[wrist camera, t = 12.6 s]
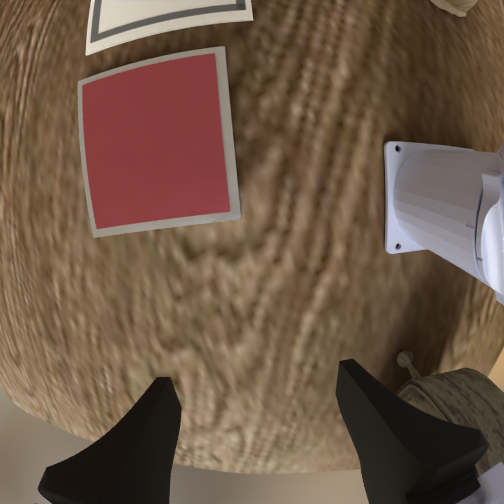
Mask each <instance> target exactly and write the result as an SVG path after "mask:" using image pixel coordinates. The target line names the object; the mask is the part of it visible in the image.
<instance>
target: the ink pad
mask: <svg viewBox="0 0 504 504" xmlns="http://www.w3.org/2000/svg"><path fill="white" fill-rule="evenodd" d="M78 121H79V138H80V151H81V161H82V170H83V178H84V185H85V192H86V199H87V205H88V211H89V216H90V222H91V227H92V232H93V237H94V238H96V237H103V236H109V235H117V234H124V233H131V232H138V231H146V230H154V229H162V228H170V227H178V226H186V225H195V224H204V223H213V222H222V221H231V220H241V209H240V199H239V189H238V179H237V169H236V159H235V148H234V138H233V128H232V117H231V107H230V96H229V85H228V74H227V64H226V53H225V46H221V47H212V48H205V49H198V50H192V51H186V52H180V53H175V54H170V55H165V56H160V57H156V58H151V59H147V60H143V61H139V62H136V63H132V64H128V65H125V66H121V67H118V68H115V69H112V70H108V71H105V72H102V73H99V74H96V75H94V76H91V77H88V78H85V79H83V80H80V81H78Z"/></svg>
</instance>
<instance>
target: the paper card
mask: <svg viewBox="0 0 504 504" xmlns="http://www.w3.org/2000/svg"><path fill="white" fill-rule="evenodd" d="M240 21H253V14H252V6H251V0H91V5H90V12H89V20H88V30H87V41H86V56H87V55H90V54H93V53H95V52H98V51H101V50H104V49H107V48H110V47H113V46H116V45H119V44H122V43H125V42H129V41H132V40H136V39H139V38H143V37H147V36H151V35H155V34H160V33H164V32H169V31H174V30H179V29H184V28H190V27H196V26H203V25H210V24H219V23H228V22H240Z"/></svg>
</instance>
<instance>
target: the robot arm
mask: <svg viewBox="0 0 504 504" xmlns="http://www.w3.org/2000/svg"><path fill="white" fill-rule="evenodd" d="M396 145H397V146H398V148H399V150H398V152H397V151H396V150H395V146H396ZM384 158H385V184H386V223H385V250H386V251H387V252H388V253H390V254H394V253H402V252H410V251H418V250H426V249H428V250H430V251H432V252H434V253H435V254H437V255H439V256H441V257H442V258H444V259H446V260H448V261H449V262H451V263H453V264H454V265H456V266H458V267H459V268H461V269H463V270H464V271H466V272H467V273H469V274H471V275H472V276H474V277H476V278H477V279H479V280H480V281H482V282H483V283H485V284H486V285H488V286H490V287H491V288H492V289H494V291H495V294H496V300H497V301H499V302H500V303H502V304H503V305H504V142H503V144H502V146H501V147H500V148H499V149H498V151H497V153H492V152H479V151H475V150H473V149H467V148H460V147H452V146H444V145H435V144H425V143H413V142H398V141H388V142H386V143H385V145H384ZM396 244H399V246H398V247H397V248H396V249H395V246H396ZM336 397H337V401H338V405H339V408H340V412H341V415H342V417H343V419H344V422H345V424H346V427H347V429H348V431H349V434H350V436H351V439H352V441H353V443H354V446H355V448H356V451H357V454H358V457H359V460H360V464H361V467H362V471H363V475H364V480H365V484H366V488H367V493H368V499H369V504H504V465H503V463H502V462H499V463H498V464H496V465H495V466H494V467H492V468H491V469H489V470H488V471H486V472H485V473H484V474H482V475H481V476H480V477H478V478H476V476H475V475H474V474H476V473H477V469H476V468H475V464H476V463H477V462H478V461H479V460H480V459H481V458H482V456H483V455H484V454H485V453H486V451H487V450H488V447H489V443H488V441H487V440H486V438H485V437H484V435H483V434H482V432H481V431H480V430H479V429H475V428H470V427H466V426H461V425H457V424H454V423H451V422H448V421H445V420H442V419H439V418H437V417H435V416H432V415H430V414H428V413H426V412H424V411H422V410H420V409H418V408H416V407H414V406H412V405H411V404H409V403H407V402H406V401H404V400H403V399H401V398H400V397H398V396H397V395H395V394H394V393H393V392H391V391H390V390H389V389H387V388H386V387H385V386H384V385H382V384H381V383H380V382H379V381H377V380H376V379H375V378H374V377H373V376H372V375H371V374H369V373H368V372H367V371H366V370H365V369H364V368H363V367H362V366H361V365H359V364H358V363H357V362H356V361H355V360H354V359H348V360H343V361H339V370H338V378H337V386H336ZM181 409H182V408H181V405H180V402H179V400H178V397H177V394H176V392H175V389H174V386H173V383H172V381H171V378H170V377H157V378H156V379H155V380H154V381H153V383H152V384H151V385H150V386H149V388H148V389H147V390H146V391H145V393H144V394H143V395H142V396H141V398H140V399H139V400H138V401H137V402H136V404H135V405H134V406H133V407H132V408H131V409H130V411H129V412H128V413H127V414H126V415H125V416H124V417H123V418H122V419H121V420H120V421H119V422H118V423H117V424H116V425H115V426H114V427H113V428H112V429H111V430H110V431H109V432H107V433H106V434H105V435H104V436H103V437H101V438H100V439H99V440H97V441H96V442H94V443H93V444H92V445H90V446H89V447H87V448H86V449H84V450H83V451H81V452H79V453H78V454H76V455H74V456H72V457H70V458H68V459H66V460H64V461H62V462H59V463H57V464H54V465H52V466H49V467H47V468H46V470H45V472H44V475H43V477H42V479H41V481H40V484H39V486H38V491H39V492H40V494H41V495H42V496H43V497H44V498H46V499H47V500H48V501H49V502H51V503H52V504H169V495H170V477H171V469H172V464H173V459H174V454H175V449H176V445H177V440H178V435H179V430H180V423H181ZM34 504H37V503H34Z"/></svg>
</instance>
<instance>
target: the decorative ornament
mask: <svg viewBox="0 0 504 504" xmlns="http://www.w3.org/2000/svg"><path fill="white" fill-rule="evenodd" d="M430 1H431V2H432V3H433V4H434V5H435V6H437V7H438V8H440V9H443V10H446V11H447V12H449V13H450V14H455V15H457V16H458V17H462V16H466V11H468V10H469V9H470V8H471V7H473V6H474V5H475V4H476V2H477V1H478V0H430Z"/></svg>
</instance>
